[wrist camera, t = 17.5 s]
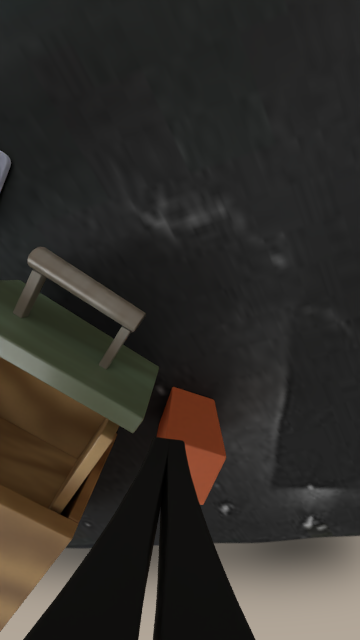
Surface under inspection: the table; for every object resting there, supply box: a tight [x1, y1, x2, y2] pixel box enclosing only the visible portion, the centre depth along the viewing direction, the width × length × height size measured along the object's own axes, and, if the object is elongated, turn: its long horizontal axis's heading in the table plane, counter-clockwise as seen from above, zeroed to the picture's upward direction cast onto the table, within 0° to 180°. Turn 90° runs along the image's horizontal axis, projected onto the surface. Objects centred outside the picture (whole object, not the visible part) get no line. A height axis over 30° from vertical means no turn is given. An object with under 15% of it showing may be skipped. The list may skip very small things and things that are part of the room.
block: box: [156, 387, 226, 505], centre depth 16 cm, size 4×4×6 cm
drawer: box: [0, 247, 159, 514], centre depth 14 cm, size 17×13×6 cm
